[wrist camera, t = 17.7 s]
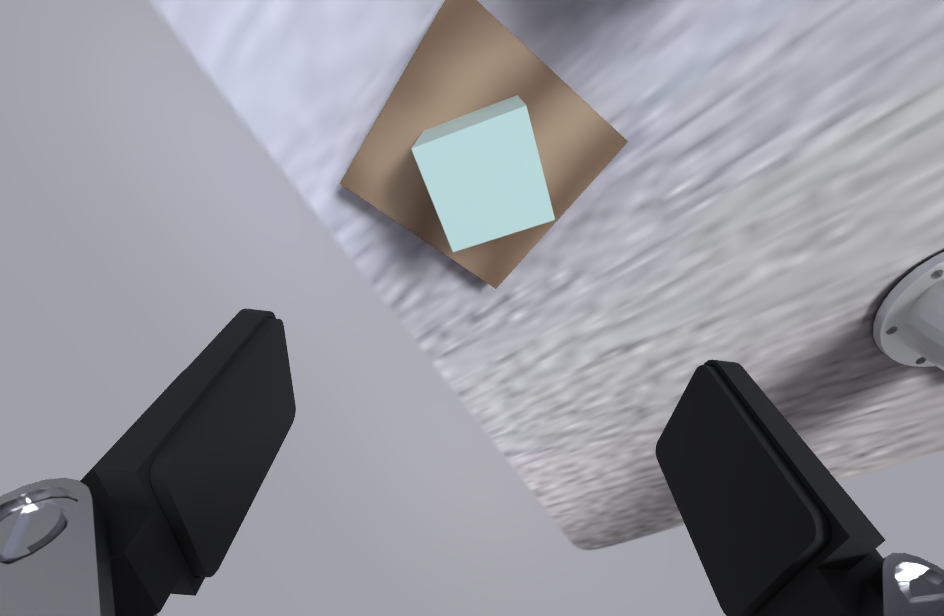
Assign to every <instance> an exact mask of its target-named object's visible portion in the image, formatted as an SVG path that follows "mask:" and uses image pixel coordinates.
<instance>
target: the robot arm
mask: <svg viewBox="0 0 944 616" xmlns="http://www.w3.org/2000/svg"><path fill="white" fill-rule="evenodd" d="M873 336H874V340H875V343H876V345H877V346H878V347H879V349H880V350H881V351H882V352H884V353H885V354H886V355H887V356H889V357H890V358H891V359H893V360H895V361H897V362H899V363H901V364H905V365H909V366H916V367H931V366H937V367H939V368H940V369H941V370H943V371H944V252H942V253H940V254H938V255H936V256H934V257H932V258H931V259H929V260H928V261H926V262H924V263H923V264H921V265H920V266H918V267H917V268H916V269H914V270H913V271H912V272H911V273H909V274H908V275H907V276H906V277H904V278H903V279H902V280H901V281H900V282H899V283H898V284H897V285H896V286H895V287H894V288H893V289H892V290H891V292H890V293H889V294H888V296H887V297H886V298H885V300H884V301H883V303H882V304H881V306H880V308H879V310H878V312H877V314H876V318H875V321H874V324H873ZM295 411H296V407H295V400H294V393H293V386H292V380H291V373H290V366H289V359H288V352H287V345H286V338H285V332H284V325H283V322H282V320H280V319H276V318H275V315H274V313H273V312H270V311H262V310H253V309H243V310H241V311H240V312H239V313H238V314H237V315H236V316H235V317H234V318H233V319H232V320H231V321H230V322H229V323H228V324H227V325H226V327H225V328H224V329H223V330H222V331H221V332H220V333H219V334H218V335H217V336H216V337H215V339H213V341H212V342H211V343H210V344H209V345H208V346H207V347H206V348H205V349H204V350H203V351H202V352H201V353H200V355H199V356H198V357H197V358H196V359H195V360H194V361H193V362H192V363H191V364H190V365H189V366H188V367H187V368H186V369H185V370H184V371H183V372H182V373H181V374H180V375H179V376H178V377H177V378H176V379H175V380H174V381H173V382H172V383H171V384H170V385H169V387H168V388H167V389H166V390H165V391H164V392H163V393H162V394H161V395H160V396H159V397H158V398H157V400H156V401H155V402H154V403H153V404H152V405H151V406H150V407H149V408H148V409H147V410H146V411H145V412H144V414H142V415H141V417H140V418H139V419H138V420H137V421H136V422H135V423H134V424H133V425H132V426H131V427H130V428H129V429H128V430H127V432H126V433H125V434H124V435H123V436H122V437H121V438H120V439H119V440H118V441H117V442H116V443H115V444H114V445H113V447H112V448H111V449H110V450H109V451H108V452H107V453H106V454H105V455H104V456H103V457H102V458H101V460H99V462H98V463H97V464H96V465H95V466H94V467H93V468H92V469H91V470H90V471H89V472H88V473H87V474H86V475H85V477H84V478H83V479H82V480H81V481H78V480H73V479H68V478H58V479H46V480H42V481H39V482H35V483H32V484H28V485H25V486H22V487H20V488H18V489H16V490H14V491H11V492H9V493H7V494H4V495H2V496H1V497H0V616H157V613H159V612H160V611H161V609H162V607H163V606H164V604H165V602H166V600H167V599H168V597H169V595H170V594H183V595H196V594H197V592H198V590H199V588H200V586H201V584H202V582H203V580H204V579H205V577H212V576H213V575H214V574H215V573H216V571H217V570H218V569H219V567H220V565H221V563H222V561H223V559H224V557H225V555H226V553H227V551H228V549H229V547H230V545H231V543H232V541H233V539H234V538H235V536H236V534H237V532H238V530H239V528H240V526H241V524H242V522H243V520H244V518H245V516H246V514H247V512H248V510H249V507H250V506H251V504H252V502H253V500H254V498H255V496H256V494H257V492H258V490H259V488H260V486H261V484H262V482H263V480H264V478H265V477H266V474H267V472H268V471H269V469H270V467H271V465H272V463H273V461H274V459H275V457H276V455H277V453H278V451H279V449H280V447H281V445H282V443H283V441H284V439H285V437H286V435H287V433H288V431H289V429H290V427H291V425H292V423H293V421H294V417H295ZM656 457H657V460H658V462H659V465H660V467H661V469H662V472H663V474H664V476H665V479H666V481H667V483H668V486H669V488H670V490H671V493H672V495H673V497H674V500H675V502H676V504H677V507H678V509H679V511H680V513H681V516H682V518H683V520H684V523H685V525H686V527H687V530H688V532H689V534H690V537H691V539H692V541H693V544H694V546H695V548H696V551H697V553H698V555H699V558H700V560H701V562H702V565H703V567H704V569H705V572H706V574H707V576H708V578H709V581H710V583H711V586H712V588H713V590H714V593H715V595H716V597H717V599H718V602H719V604H720V606H721V608H722V610H723V612H724V613H725V614H726V615H727V616H944V570H943V569H941V568H940V567H938V566H937V565H935V564H933V563H930V562H928V561H926V560H924V559H922V558H920V557H917V556H913V555H909V554H906V553H892V554H890V555H888V556H887V557H885V558H884V559H883V558H882V557H881V555H880V554H879V553H878V552H877V550H876V548H877V547H878V546H879V545H880V544H882V543H883V542H884V541H885V539H884V538H883V537H882V535H881V534H880V533H879V532H878V531H877V529H876V528H875V527H874V526H873V524H872V523H871V522H870V521H869V520H868V519H867V517H866V516H865V515H864V514H863V512H862V511H861V510H860V509H859V508H858V506H857V505H856V504H855V503H854V501H852V499H851V498H850V497H849V495H848V494H847V493H846V492H845V491H844V489H843V488H842V487H841V486H840V485H839V483H838V482H837V481H836V480H835V478H834V477H833V476H832V475H831V474H830V472H829V471H828V470H827V469H826V468H825V466H824V465H823V464H822V463H821V461H820V460H819V459H818V458H817V457H816V455H815V454H814V453H813V452H812V451H811V449H810V448H809V447H808V446H807V445H806V443H805V442H804V441H803V440H802V438H801V437H800V436H799V435H798V434H797V432H796V431H795V430H794V429H793V428H792V426H791V425H790V424H789V423H788V422H787V420H786V419H785V418H784V417H783V415H782V414H781V413H780V412H779V411H778V409H777V408H776V407H775V406H774V405H773V403H772V402H771V401H770V400H769V399H768V397H767V396H766V395H765V394H764V392H763V391H762V390H761V389H760V388H759V386H758V385H757V384H756V383H755V382H754V380H753V379H752V378H751V377H750V376H749V374H748V373H747V372H746V371H745V369H744V368H743V367H742V366H741V365H740V364H738V363H735V362H727V361H718V360H708V361H707V362H705V364H704V365H701V366H699V367H698V368H697V369H696V370H695V372H694V374H693V376H692V378H691V380H690V382H689V384H688V385H687V387H686V389H685V391H684V393H683V395H682V397H681V399H680V401H679V402H678V404H677V406H676V408H675V410H674V412H673V414H672V416H671V418H670V419H669V421H668V423H667V425H666V427H665V429H664V431H663V433H662V435H661V436H660V438H659V440H658V442H657V445H656Z"/></svg>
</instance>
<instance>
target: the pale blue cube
mask: <svg viewBox="0 0 944 616" xmlns="http://www.w3.org/2000/svg"><path fill="white" fill-rule="evenodd" d="M411 150H412V152H413V155H414V157H415V160H416V162H417V164H418V167H419V169H420V172H421V174H422V177H423V179H424V182H425V184H426V187H427V189H428V192H429V194H430V197H431V199H432V202H433V204H434V207H435V209H436V212H437V214H438V216H439V219H440V221H441V224H442V226H443V229H444V231H445V234H446V236H447V239H448V241H449V244H450V246H451V249H452V251H453V252H456V251H459V250H462V249H465V248H468V247H471V246H474V245H478V244H481V243H484V242H487V241H490V240H493V239H496V238H500V237H503V236H506V235H509V234H512V233H515V232H519V231H522V230H525V229H528V228H531V227H534V226H537V225H541V224H544V223H547V222H550V221H553V220H555V217H554V213H553V209H552V205H551V201H550V197H549V193H548V189H547V185H546V181H545V177H544V173H543V169H542V165H541V161H540V158H539V154H538V150H537V146H536V142H535V138H534V134H533V130H532V126H531V122H530V118H529V114H528V110H527V106H526V104H525V103H524V102H523V101H522V100H521V99H520V98H519V96H518V95H516V96H514V97H511V98H508V99H506V100H503V101H500V102H498V103H495V104H493V105H490V106H487V107H485V108H482V109H479V110H477V111H474V112H472V113H469V114H466V115H464V116H461V117H458V118H456V119H453V120H451V121H448V122H445V123H443V124H440V125H437V126H435V127H432V128H430V129H427V130H424V131H423V132H422V134H421V135H420V137H419V138H418V139H417V141H416V142H415V144H414V145H413V147H412V148H411Z"/></svg>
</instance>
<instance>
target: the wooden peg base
mask: <svg viewBox="0 0 944 616" xmlns="http://www.w3.org/2000/svg"><path fill="white" fill-rule="evenodd" d="M516 95H518V96H519V98H520V99H521V100H522V101H523V102H524V103H525V104H526V106H527V110H528V114H529V118H530V122H531V126H532V130H533V134H534V138H535V142H536V146H537V150H538V154H539V158H540V161H541V165H542V169H543V173H544V177H545V181H546V185H547V189H548V193H549V197H550V201H551V205H552V209H553V213H554V217H555V220H553V221H550V222H547V223H544V224H541V225H537V226H534V227H531V228H528V229H525V230H522V231H519V232H515V233H512V234H509V235H506V236H503V237H500V238H496V239H493V240H490V241H487V242H484V243H481V244H478V245H474V246H471V247H468V248H465V249H462V250H459V251H456V252H453V251H452V249H451V246H450V244H449V241H448V239H447V236H446V234H445V231H444V229H443V226H442V224H441V221H440V219H439V216H438V214H437V212H436V209H435V207H434V204H433V202H432V199H431V197H430V194H429V192H428V189H427V187H426V184H425V182H424V179H423V177H422V174H421V172H420V169H419V167H418V164H417V162H416V160H415V157H414V155H413V152H412V150H411V148H412V147H413V145H414V144H415V142H416V141H417V139H418V138H419V137H420V135H421V134H422V132H423V131H424V130H427V129H430V128H432V127H435V126H437V125H440V124H443V123H445V122H448V121H451V120H453V119H456V118H458V117H461V116H464V115H466V114H469V113H472V112H474V111H477V110H479V109H482V108H485V107H487V106H490V105H493V104H495V103H498V102H500V101H503V100H506V99H508V98H511V97H514V96H516ZM627 142H628V141H627V140H626V139H625V138H624V137H622V136H621V135H620V134H619V133H618V132H617V131H616V130H615V129H614V128H613V127H612V126H611V125H610V124H609V123H607V122H606V121H605V120H604V119H603V118H602V117H601V116H600V115H599V114H598V113H597V112H596V111H595V110H594V109H592V108H591V107H590V106H589V105H588V104H587V103H586V102H585V101H584V100H583V99H582V98H581V97H580V96H579V95H577V94H576V93H575V92H574V91H573V90H572V89H571V88H570V87H569V86H568V85H567V84H566V83H565V82H564V81H562V80H561V79H560V78H559V77H558V76H557V75H556V74H555V73H554V72H553V71H552V70H551V69H550V68H548V67H547V66H546V65H545V64H544V63H543V62H542V61H541V60H540V59H539V58H538V57H537V56H536V55H535V54H533V53H532V52H531V51H530V50H529V49H528V48H527V47H526V46H525V45H524V44H523V43H522V42H521V41H520V40H518V39H517V38H516V37H515V36H514V35H513V34H512V33H511V32H510V31H509V30H508V29H507V28H506V27H505V26H503V25H502V24H501V23H500V22H499V21H498V20H497V19H496V18H495V17H494V16H493V15H492V14H491V13H489V12H488V11H487V10H486V9H485V8H484V7H483V6H482V5H481V4H480V3H479V2H478V1H477V0H445V1H444V3H443V5H442V7H441V8H440V10H439V12H438V14H437V15H436V17H435V19H434V21H433V22H432V24H431V26H430V27H429V29H428V31H427V33H426V34H425V36H424V38H423V40H422V41H421V43H420V45H419V47H418V48H417V50H416V52H415V54H414V55H413V57H412V59H411V61H410V62H409V64H408V66H407V68H406V69H405V71H404V73H403V75H402V76H401V78H400V80H399V82H398V83H397V85H396V87H395V89H394V90H393V92H392V94H391V95H390V97H389V99H388V101H387V102H386V104H385V106H384V108H383V109H382V111H381V113H380V115H379V116H378V118H377V120H376V122H375V123H374V125H373V127H372V129H371V130H370V132H369V134H368V136H367V137H366V139H365V141H364V143H363V144H362V146H361V148H360V150H359V151H358V153H357V155H356V157H355V158H354V160H353V162H352V163H351V165H350V167H349V169H348V170H347V172H346V174H345V176H344V177H343V179H342V181H341V183H340V184H341V185H343V186H344V187H346V188H347V189H349V190H350V191H352V192H353V193H355V194H356V195H358V196H359V197H361V198H362V199H364V200H365V201H367V202H368V203H370V204H371V205H373V206H374V207H375V208H377V209H378V210H380V211H381V212H383V213H384V214H386V215H387V216H389V217H390V218H392V219H393V220H395V221H396V222H398V223H399V224H401V225H402V226H404V227H405V228H407V229H408V230H410V231H411V232H412V233H414V234H415V235H417V236H418V237H420V238H421V239H423V240H424V241H426V242H427V243H429V244H430V245H432V246H433V247H435V248H436V249H438V250H439V251H441V252H442V253H444V254H445V255H447V256H448V257H450V258H451V259H452V260H454V261H455V262H457V263H458V264H460V265H461V266H463V267H464V268H466V269H467V270H469V271H470V272H472V273H473V274H475V275H476V276H478V277H479V278H481V279H482V280H484V281H485V282H487V283H488V284H489V285H491V286H492V287H494V288H495V289H496V288H497V287H498V286H499V285H500V284H501V283H502V281H503V280H504V279H505V278H506V277H507V276H508V275H509V274H510V273H511V271H512V270H513V269H514V268H515V267H516V266H517V265H518V264H519V263H520V261H521V260H522V259H523V258H524V257H525V256H526V255H527V254H528V253H529V251H530V250H531V249H532V248H533V247H534V246H535V245H536V244H537V243H538V241H539V240H540V239H541V238H542V237H543V236H544V235H545V234H546V232H547V231H548V230H549V229H550V228H551V227H552V226H553V225H554V224H555V222H556V221H557V220H558V219H559V218H560V217H561V216H562V215H563V214H564V212H565V211H566V210H567V209H568V208H569V207H570V206H571V205H572V204H573V202H574V201H575V200H576V199H577V198H578V197H579V196H580V195H581V194H582V192H583V191H584V190H585V189H586V188H587V187H588V186H589V185H590V183H591V182H592V181H593V180H594V179H595V178H596V177H597V176H598V175H599V173H600V172H601V171H602V170H603V169H604V168H605V167H606V166H607V165H608V163H609V162H610V161H611V160H612V159H613V158H614V157H615V156H616V155H617V153H618V152H619V151H620V150H621V149H622V148H623V147H624V146H625V145H626V143H627Z"/></svg>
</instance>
